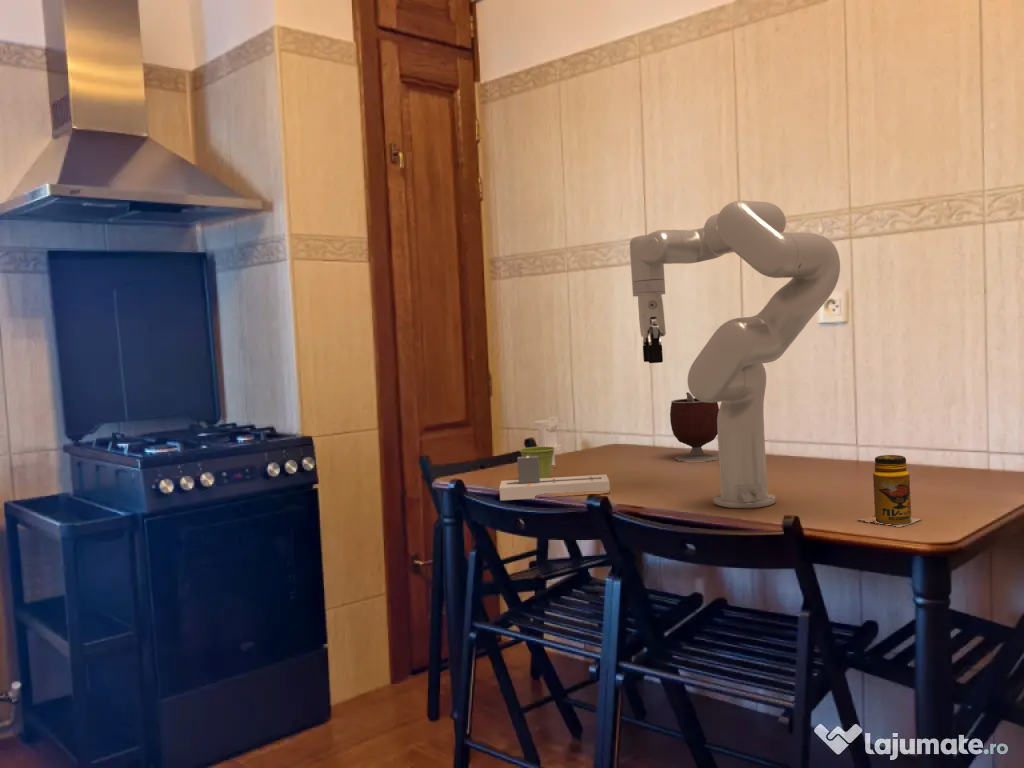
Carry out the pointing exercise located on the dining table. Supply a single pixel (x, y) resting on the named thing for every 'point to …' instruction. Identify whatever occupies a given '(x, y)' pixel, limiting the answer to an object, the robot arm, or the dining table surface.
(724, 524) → the dining table surface
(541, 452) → the plant pot
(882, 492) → the condiment
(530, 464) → the fader
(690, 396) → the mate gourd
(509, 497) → the console
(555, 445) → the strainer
